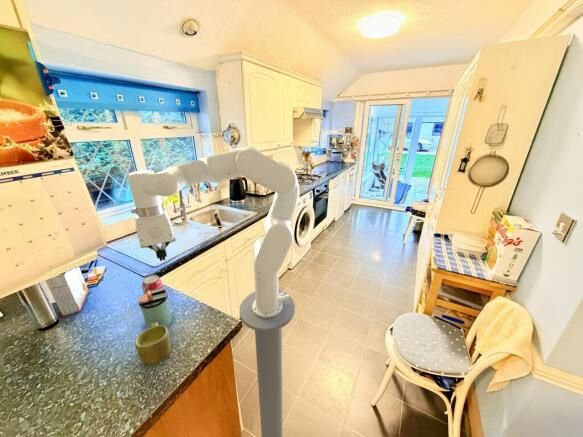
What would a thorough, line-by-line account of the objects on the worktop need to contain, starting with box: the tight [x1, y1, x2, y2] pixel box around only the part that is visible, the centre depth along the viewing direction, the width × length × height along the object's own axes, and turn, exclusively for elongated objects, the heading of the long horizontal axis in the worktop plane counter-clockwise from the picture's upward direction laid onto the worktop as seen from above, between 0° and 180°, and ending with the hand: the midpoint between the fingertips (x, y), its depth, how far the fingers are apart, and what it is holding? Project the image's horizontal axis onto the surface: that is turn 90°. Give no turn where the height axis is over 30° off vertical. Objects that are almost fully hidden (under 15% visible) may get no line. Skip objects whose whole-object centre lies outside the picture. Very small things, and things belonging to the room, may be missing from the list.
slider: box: [139, 290, 151, 303], centre depth 84 cm, size 3×3×2 cm
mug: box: [134, 322, 172, 366], centre depth 77 cm, size 12×10×10 cm
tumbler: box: [138, 288, 173, 330], centre depth 87 cm, size 9×9×13 cm
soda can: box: [141, 274, 165, 295], centre depth 98 cm, size 7×7×12 cm
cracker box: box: [45, 266, 89, 317], centre depth 95 cm, size 14×6×21 cm, turn 27°
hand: (162, 258), depth 82 cm, fingers closed
